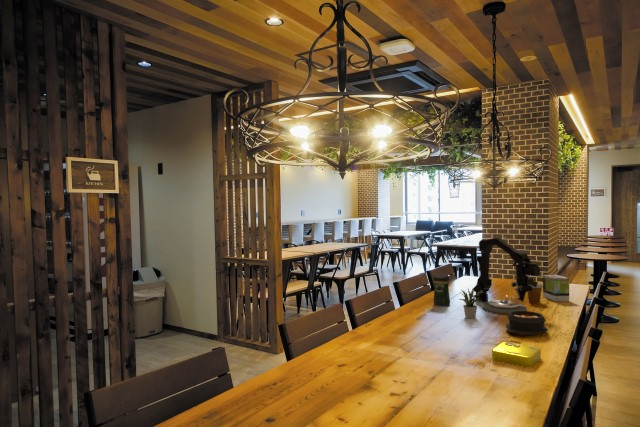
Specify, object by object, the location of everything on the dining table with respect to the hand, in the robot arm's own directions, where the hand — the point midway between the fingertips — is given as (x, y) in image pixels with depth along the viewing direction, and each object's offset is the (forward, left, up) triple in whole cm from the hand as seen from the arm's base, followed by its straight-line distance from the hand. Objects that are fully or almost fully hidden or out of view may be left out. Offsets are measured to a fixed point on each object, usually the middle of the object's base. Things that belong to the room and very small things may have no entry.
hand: (522, 301), depth 254 cm
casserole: (+12, -44, -6) cm, 46 cm away
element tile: (+18, -87, -6) cm, 89 cm away
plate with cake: (-8, -3, -3) cm, 9 cm away
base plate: (-9, -4, -5) cm, 11 cm away
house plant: (-18, -33, -5) cm, 38 cm away
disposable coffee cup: (+1, +26, -5) cm, 26 cm away
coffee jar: (-44, -11, -5) cm, 46 cm away
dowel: (-10, +6, -3) cm, 12 cm away
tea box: (+10, +44, -5) cm, 45 cm away
